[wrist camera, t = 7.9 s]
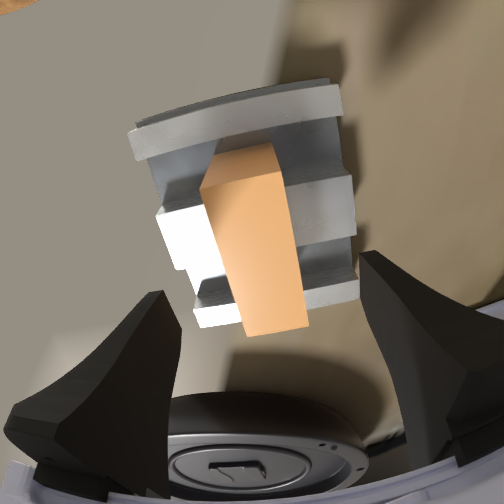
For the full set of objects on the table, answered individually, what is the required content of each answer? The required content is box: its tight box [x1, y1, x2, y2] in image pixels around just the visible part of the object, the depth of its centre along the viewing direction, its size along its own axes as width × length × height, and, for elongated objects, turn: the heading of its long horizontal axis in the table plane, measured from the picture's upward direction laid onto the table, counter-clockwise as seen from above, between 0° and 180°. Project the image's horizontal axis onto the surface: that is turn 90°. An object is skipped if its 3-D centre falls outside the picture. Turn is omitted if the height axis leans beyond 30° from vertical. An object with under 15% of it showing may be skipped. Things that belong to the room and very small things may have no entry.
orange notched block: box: [199, 142, 309, 337], centre depth 15 cm, size 3×8×5 cm, turn 13°
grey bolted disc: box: [168, 392, 369, 502], centre depth 32 cm, size 30×6×30 cm
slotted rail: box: [127, 77, 359, 327], centre depth 17 cm, size 10×13×2 cm
